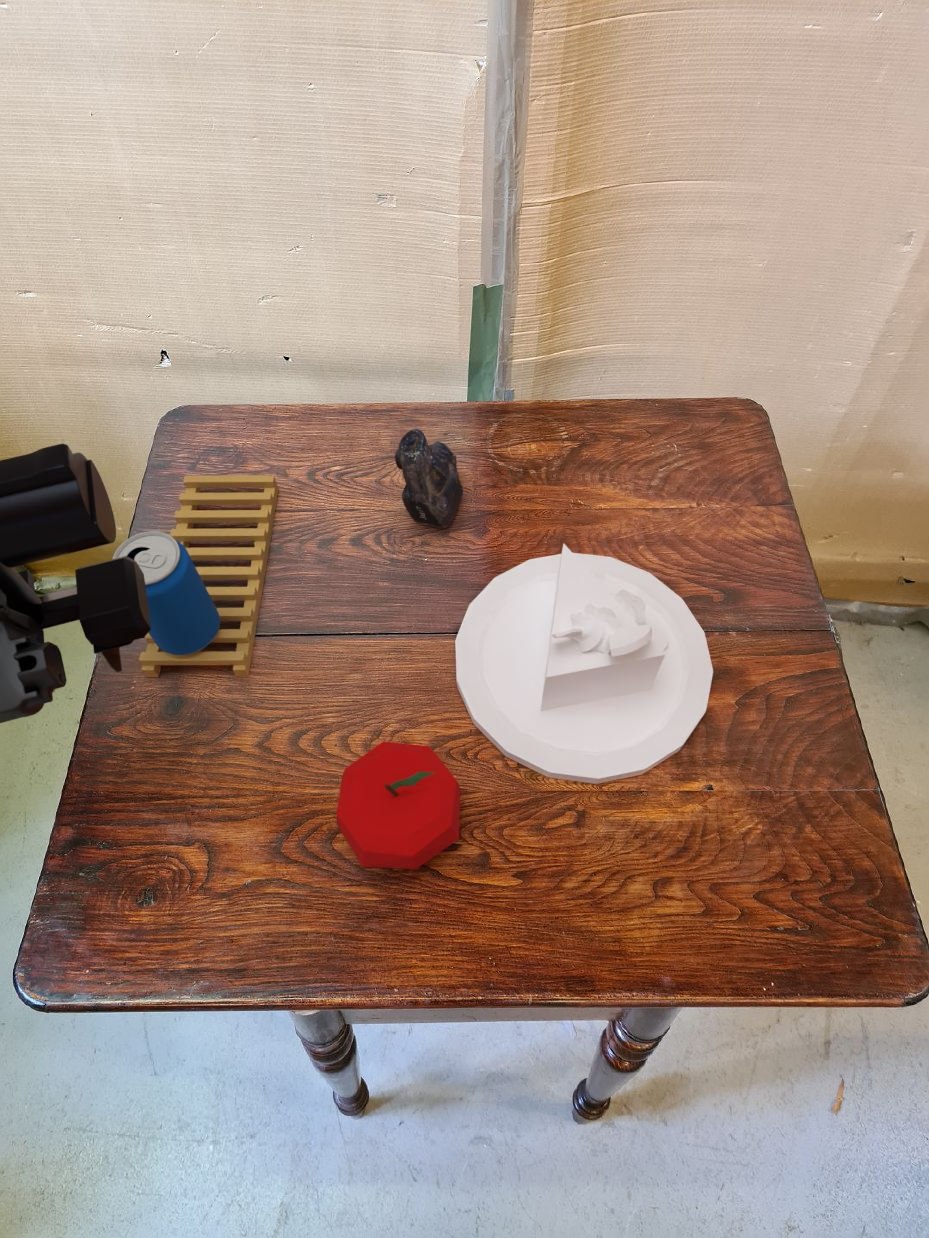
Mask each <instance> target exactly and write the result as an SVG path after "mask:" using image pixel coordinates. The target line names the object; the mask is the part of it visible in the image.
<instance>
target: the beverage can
mask: <svg viewBox="0 0 929 1238" xmlns="http://www.w3.org/2000/svg"><path fill="white" fill-rule="evenodd" d="M124 556H128V557H129V558H131V559H133V560H134V561H136V562H137V564H138V565H139V567H140V569H141V570H142V572H143V574H144V579H145V587H146V594H147V602H148V609H149V616H150V624H151V630H150V631H149V632H148V633H149V634H150V636H151V637H152V639H153V640H154V642H155V643H156V645H157V646H158V647H159V648H160V649H161V650H163V651H164V652H167V653H169V654H173V655H187V654H192V653H195V652H200V651H201V650H203V649H205V648H206V647H207V646H208V645H209V644H211V643H210V642H211V641H212V640H213V639H214V638H215V636H216V634H217V632H218V630H219V629H220V626H221V621H220V616H219V613H218V611H217V609H216V608H217V607H216V606H215V603H214V600H212V599H211V597H210V595H209V593H208V591H207V589H206V587H207V586H205V583H204V582H203V581H204V580H202V579H201V577H200V575H199V573H198V572H197V570H196V568H195V567H196V566H195V564H194V562H193V560H191V558H190V556H189V554H188V552H187V550H186V548H185V547H184V546H183V545H182V544H181V543H180V542H178V541H177V540H175V539H174V538H172V537H171V536H170V534H168V533H166V532H162V531H156V530H151V531H143V532H140V533H137V534H134V535H132V536H130V537H128V538H127V539H125V540H124V541H123V542H122V543H121V544H119V546H118V547H117V548H116V550H115V551H114V554H113V556H112V559H116V558H120V557H124Z"/></svg>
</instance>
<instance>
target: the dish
mask: <svg viewBox="0 0 929 1238" xmlns="http://www.w3.org/2000/svg"><path fill="white" fill-rule="evenodd" d="M454 643H455V673H456V675H455V678H456V679H455V680H456V688H457V690H458V692H459V694H460V697H461V699H462V701H463V704H464V706H465V708H466V710H467V713H468V715H469V717H470V720H471V721H472V724H473V726H475V727H476V728H477V729H478V730H479V731H480V732H481V733H482V734H483V735H484V736H485V737H486V739H488V741H490V742H491V744H493V746H494V747H495V748H496V749H497V750H498V751H499V752H500V753H501V754H502V755H503V756H504V757H506V758H508V759H509V760H511V761H514V762H516V763H517V764H520V765H522V766H524V767H526V768H528V769H530V770H532V771H535V772H536V773H537V774H540V775H543V776H544V777H547V778H548V779H549V778H550V779H556V780H563V781H571V782H580V783H585V784H594V785H597V784H598V785H599V784H602V783H607V782H613V781H618V780H621V779H627V778H631V777H636V776H637V777H638V776H641V775H644V774H645V773H647V772H649V771H650V770H652V769H653V768H655V767H656V766H658V765H659V764H661V763H663V762H664V761H666V760H667V759H669V758H671V757H672V756H673V755H675V754H677V753H679V752H680V751H681V750H682V748H683V746H684V745H685V743H686V742H687V740H688V739H689V738H690V736H691V734H692V733H693V732H694V730H695V729H696V727H697V726H698V724H699V723H700V722H701V720H702V718H703V717H704V715H705V713H706V712H707V710H708V709H707V708H708V705H709V704H708V703H709V698H710V693H711V687H712V681H713V676H714V668H713V664H712V660H711V659H712V658H711V655H710V650H709V647H708V646H709V645H708V642H707V638H706V633H705V631H704V629H703V628H702V627H701V625H700V624H699V622H698V620H697V619H696V618H695V616H694V614H693V613H692V611H691V610H690V608H689V607H688V605H687V604H686V602H685V600H684V599H683V598H682V597H681V596H680V595H678V594H677V593H675V591H673V590H672V589H671V588H670V587H668V586H667V585H666V584H665V583H664V582H662V581H661V580H659V579H658V578H657V577H656V576H655V575H653V574H652V573H651V572H649V571H647V570H644V569H641V568H639V567H637V566H635V565H632V564H629V563H627V562H625V561H622V560H619V559H617V558H616V557H615V558H614V557H613V556H605V555H598V554H588V553H579V552H573V551H571V549H570V548H569V547H568V546H567V545H566V544H565V543H564V542H563V543H562V549H561V553H558V554H553V555H548V556H547V555H546V556H542V557H541V556H540V557H535V558H529V559H528V560H525V561H524V562H522V563H520V564H518V565H516V566H514V567H512V568H510V569H508V570H506V571H505V572H503V573H500V574H499V575H497V576H494V577H493V578H492V580H491V581H490V582H489V583H488V584H487V585H486V586H485V587H484V588H483V589H482V590H481V591H480V593H479V594H478V595H477V596H476V597H475V598H474V599H473V600H472V601H471V602H470V603H469V605H468V606H467V608H466V612H465V615H464V617H463V619H462V622H461V625H460V627H459V630H458V632H457V635H456V638H455V642H454Z"/></svg>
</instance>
